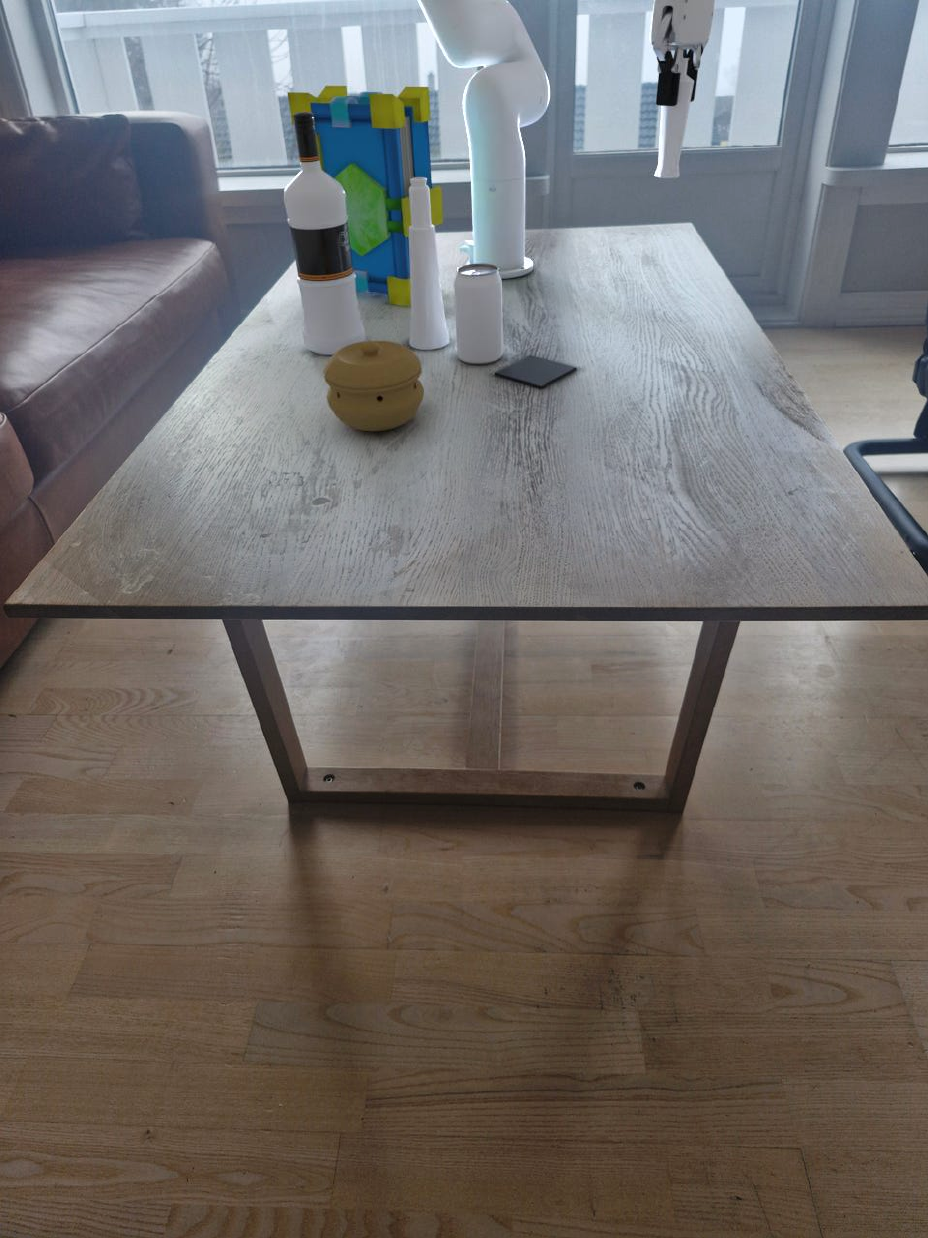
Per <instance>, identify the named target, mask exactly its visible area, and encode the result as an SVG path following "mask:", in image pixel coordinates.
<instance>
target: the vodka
mask: <svg viewBox="0 0 928 1238" xmlns="http://www.w3.org/2000/svg"><path fill="white" fill-rule="evenodd" d="M293 118H294V125H293V126H294V132H295V138H296V145H297V150H298V151H297V152H298V158H299V165H300V172H298V174H297V175H296V176H295V177H293V179H292V180H291V181H290V183H289V184H287V186H286V187H285V189H284V193H283V203H284V208H285V211H286V215H287V219H286V221H287V224H288V225H289V227H290V235H291V241H292V242H291V243H292V247H293V254H294V259H295V266H296V271H297V278H296V283H297V284H298V289H299V292H300V298H301V307H302V308H301V309H302V320H303V331H302V336H303V343H304V346H305V347H306V348H307V349H308V351H310V352H313V353H314V354H317V355H323V356H333V355H334V354H335V353H336V352H337V351H338V350H340V349H341V348H343V347H345V346H348V345H351V344H354V343H358V342H364V341H366V339H367V333H366V327H365V325H364V323H363V320H362V315H361V311H360V306H359V300H358V294H357V292H356V285H355V278H356V275H355V273H354V272H353V271H354V270H353V261H352V253H351V245H350V237H349V228H348V216H347V212H346V201H345V199H346V194H345V191H344V189H343V187H342V185H341V184H340V183H339V182H338V181H337V180H335V179H334V178H332V177H331V176H330V175H328V174H327V173H325V172H324V171H322V170H321V167H320V162H319V155H318V148H317V141H316V134H315V126H314V121H313V114H312V113H310V112H299V113H296V114H294V115H293Z"/></svg>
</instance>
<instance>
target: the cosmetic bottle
mask: <svg viewBox="0 0 928 1238" xmlns="http://www.w3.org/2000/svg"><path fill="white" fill-rule="evenodd" d="M426 182H427V178H425V177H414V178H411V179H410V183H411V186H410V187H409V199H410V212H411V226H410V227H409V259H410V285H411V306H410V332H409V341H408V343H409V346H410V347H411V348H413V349H416V350H420V351H433V350H438V349H442V348H445V347H447V346H448V345H449V343H450V336H449V333H448V332H449V331H448V328H447V323H446V322H447V321H446V316H445V309H444V303H443V294H442V293H443V292H442V283H441V273H440V265H439V253H438V244H437V243H438V242H437V235H436V226H434V225H432V224H431V208H430V192H429V187H428V186H427V185H426Z"/></svg>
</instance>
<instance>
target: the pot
mask: <svg viewBox="0 0 928 1238" xmlns="http://www.w3.org/2000/svg"><path fill="white" fill-rule="evenodd" d="M422 373H423V367H422V362H421V360H420V359H419V357H418V356H417V355H416V354H415V352H413V351H412V349H411V350H410V348H408V347H407V346H405V345H404V344H401V343H398V342H395V341H389V340H371V339H370V340H369V339H368V340H365V341H364V342H358V343H354V344H351V345H348V346H345V347H343V348H341V349H340V350H338V351H337V352H336V353H335V354H334V355H331V357H329V359H328V360H327V362H326V363H325V366H324V369H323V379H324V382H325V383H326V384H327V385H328V386H329V388H328V390H327V394H326V401H327V404H328V406H329V408H330V410H331V411H332V413H333V414H334V415H335V416H336V418H338V419H339V420H340V421H341V422H342V423H343V424H344V425H346V426H348V427H349V428H352V429H354V430H357V431H364V432H382V431H388V430H392V429H396V428H398V427H401V426H403V425H405V424H406V423H407V422H409V421H411V419H413V417H414V416H416V413H417V412H418V410H419V408H420V406H421V404H422V402H423V399H424V396H425V388H424V386H423V384H422V382H421V381H420V379H419V378H420V376H421V374H422Z"/></svg>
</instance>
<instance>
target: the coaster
mask: <svg viewBox="0 0 928 1238" xmlns="http://www.w3.org/2000/svg"><path fill="white" fill-rule="evenodd" d="M575 371H577V367H576V366H573V365H569V364H565V363H562V362H558V361H554V360H551V359H546V358H543V357H538V356H535V355H531V354H530V355H528V356H526V357H523V358H522V359H519V360H518V361H516V362H513V363H511V364H509V365H507V366H505V367H503V368H501V369H499V370H497V371H494V376H496V377H500V378H503V379H506V380H510V381H514V382H518V383H520V384H523V385H527V386H531V387H533V388H538V389H540V390H541V389H544V388H546V387H547V386H549V385H552V384H553V383H555V382H557V381H559V380H561V379H563V378H564V377H566V376H568V375H570V374H573V372H575Z"/></svg>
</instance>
